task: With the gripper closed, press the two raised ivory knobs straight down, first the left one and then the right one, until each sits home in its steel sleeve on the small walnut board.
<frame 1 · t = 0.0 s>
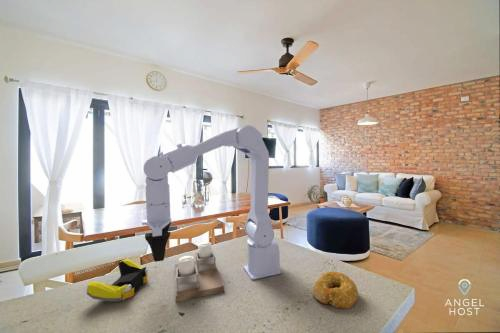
hand: (160, 254, 57), 10 cm above the kitchen counter, tool pointing down, fingers open, 7 cm apart
knob right: (205, 250, 68), point 6 cm above the kitchen counter, slide at 2.5 cm
bagel: (334, 297, 55), on the kitchen counter
knob left: (186, 266, 58), point 6 cm above the kitchen counter, slide at 2.5 cm
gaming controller: (123, 290, 59), on the kitchen counter
knob board: (197, 279, 63), on the kitchen counter
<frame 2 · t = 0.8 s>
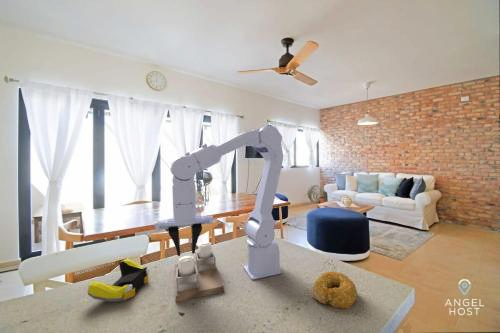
hand: (186, 253, 58), 10 cm above the kitchen counter, tool pointing down, fingers open, 3 cm apart
nothing on the kitchen counter moved.
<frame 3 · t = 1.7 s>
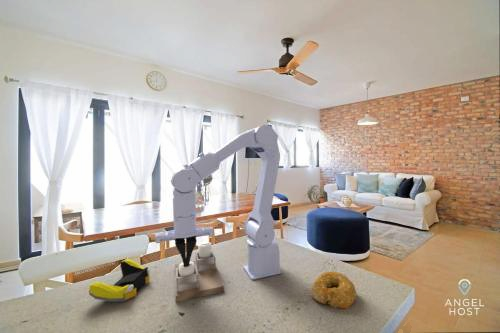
hand: (186, 264, 58), 7 cm above the kitchen counter, tool pointing down, fingers closed, pressing on knob left
knob left: (186, 272, 58), point 5 cm above the kitchen counter, slide at 0.9 cm, touching gripper
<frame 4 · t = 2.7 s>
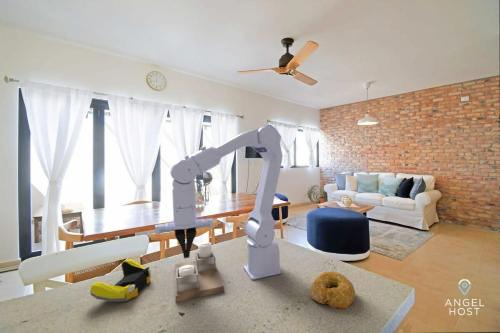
hand: (186, 256, 58), 9 cm above the kitchen counter, tool pointing down, fingers closed
knob left: (186, 275, 59), point 4 cm above the kitchen counter, slide at -0.1 cm
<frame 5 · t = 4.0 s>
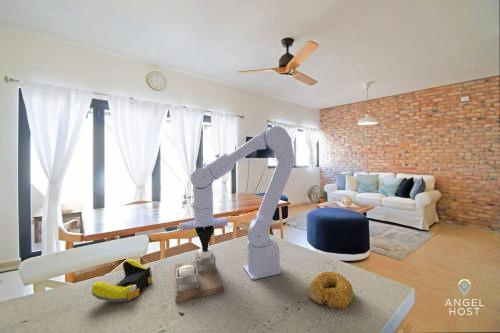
hand: (204, 250, 68), 6 cm above the kitchen counter, tool pointing down, fingers closed, pressing on knob right
knob right: (205, 256, 68), point 4 cm above the kitchen counter, slide at 0.6 cm, touching gripper
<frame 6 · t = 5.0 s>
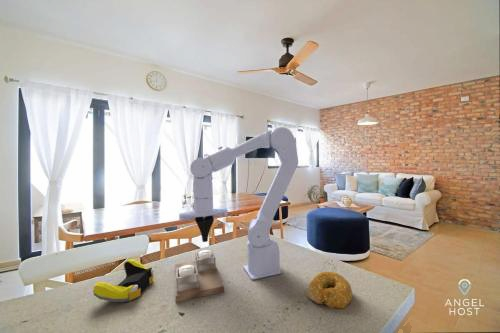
hand: (204, 240, 68), 9 cm above the kitchen counter, tool pointing down, fingers closed
knob right: (205, 258, 68), point 4 cm above the kitchen counter, slide at -0.1 cm
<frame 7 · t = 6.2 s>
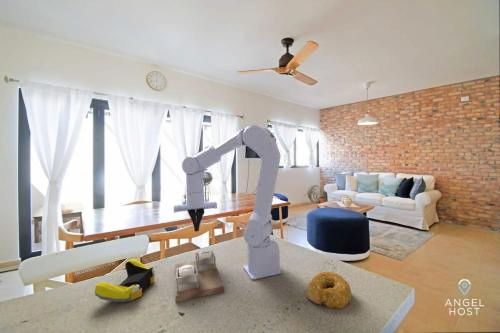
hand: (196, 230, 76), 10 cm above the kitchen counter, tool pointing down, fingers closed
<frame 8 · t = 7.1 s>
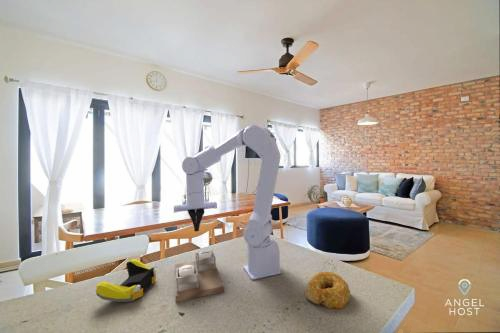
hand: (196, 230, 76), 10 cm above the kitchen counter, tool pointing down, fingers closed
at the end: knob left slide at -0.1 cm; knob right slide at -0.1 cm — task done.
